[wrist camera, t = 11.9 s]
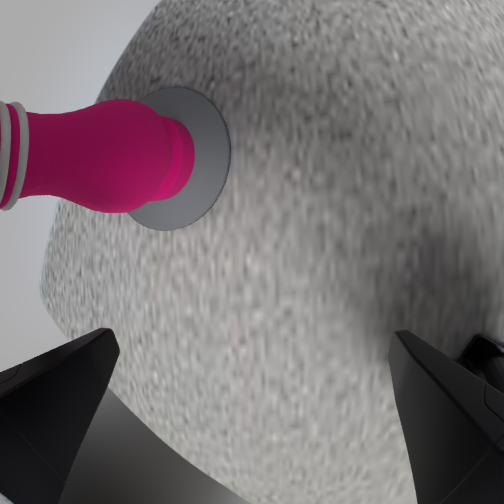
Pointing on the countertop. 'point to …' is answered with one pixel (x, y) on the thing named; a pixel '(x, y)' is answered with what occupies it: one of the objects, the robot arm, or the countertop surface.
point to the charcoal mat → (205, 165)
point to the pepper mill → (94, 155)
